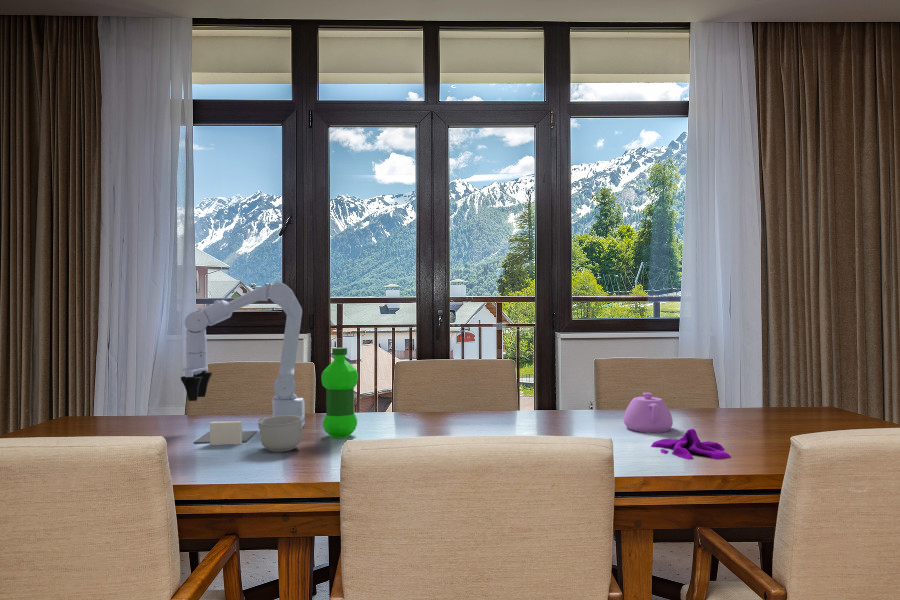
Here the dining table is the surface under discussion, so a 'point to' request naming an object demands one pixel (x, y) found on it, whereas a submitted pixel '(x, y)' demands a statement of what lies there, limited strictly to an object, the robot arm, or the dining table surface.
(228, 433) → the tile
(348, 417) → the plastic bottle
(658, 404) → the teapot
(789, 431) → the dining table surface
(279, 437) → the teacup
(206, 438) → the mat
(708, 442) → the cloth
